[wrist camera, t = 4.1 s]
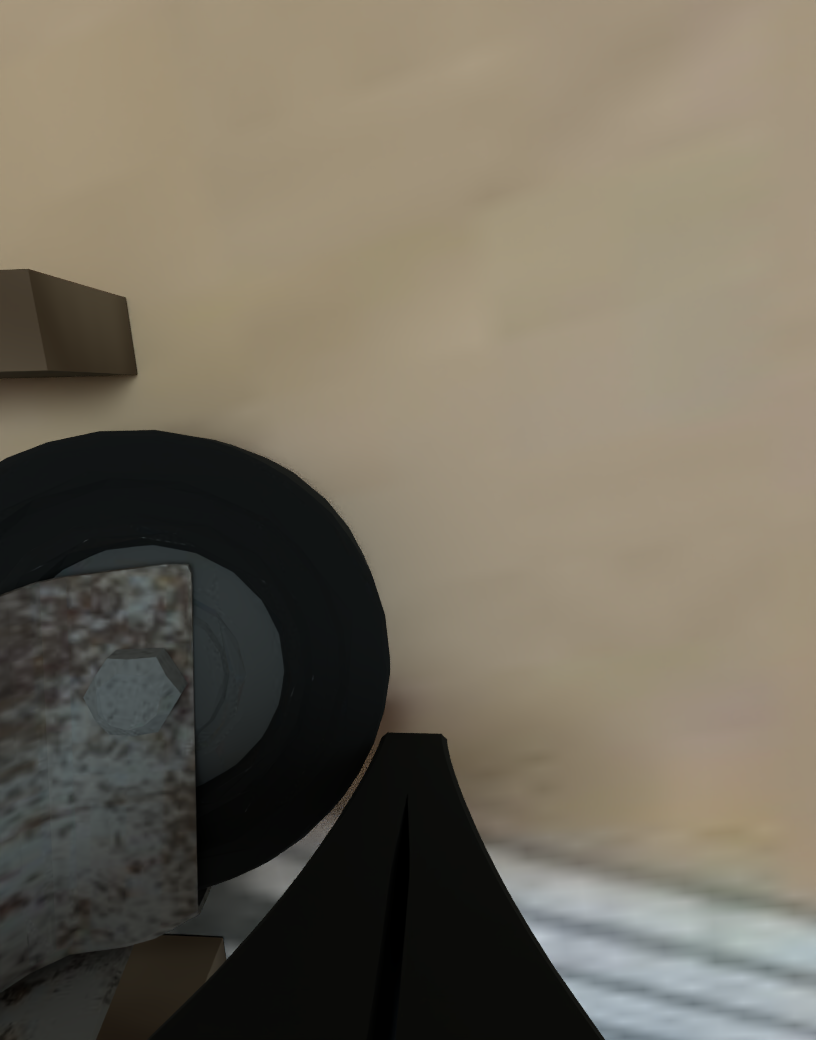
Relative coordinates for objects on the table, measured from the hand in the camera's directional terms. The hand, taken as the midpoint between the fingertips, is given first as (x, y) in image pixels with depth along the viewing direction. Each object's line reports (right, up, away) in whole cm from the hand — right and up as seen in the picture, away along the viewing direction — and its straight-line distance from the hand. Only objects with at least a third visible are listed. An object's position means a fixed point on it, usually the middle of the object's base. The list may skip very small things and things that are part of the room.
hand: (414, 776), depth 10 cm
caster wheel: (-6, +2, +2) cm, 7 cm away
